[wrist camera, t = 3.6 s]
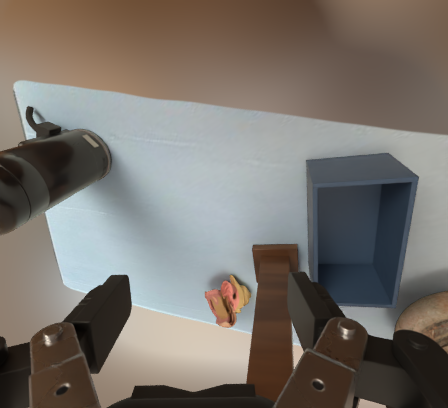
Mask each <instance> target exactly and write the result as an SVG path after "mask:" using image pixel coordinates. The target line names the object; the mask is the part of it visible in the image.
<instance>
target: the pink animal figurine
mask: <svg viewBox="0 0 448 408" xmlns="http://www.w3.org/2000/svg"><path fill="white" fill-rule="evenodd" d="M230 280H231V283H229V282H228V281H224V282H223V283H222V286H221V291H220V290H217V289H214V290H212V291H208V292H205V298H206V299H207V301H208V303H209V306H210V309H211V310H212V312H213V314H214V315H215V316H216V317H217V320H216V323H217V324H218V325H219V326H222V327H226V328H229V327H232V326H233V325H234V324H235V323H236V313H241V310H239V309H241V308H242V307H243V306H245V305H246V304H248V302H249V298H250V297H251V293H250V292H249V291H248V289H247V288H246V287H245V286H243V285H241V286H240V285H239V284H238V283H237V282H236V280H235V278H234V277H233V275H230Z"/></svg>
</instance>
